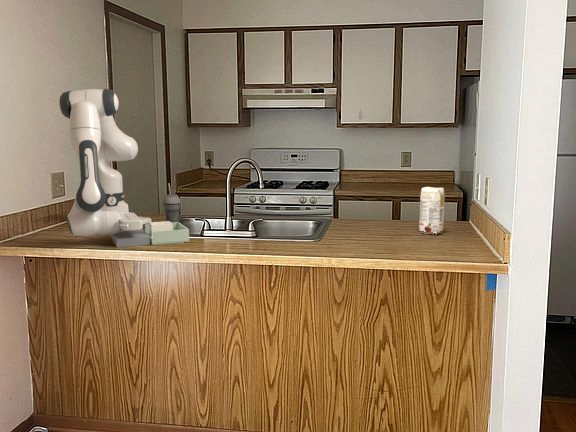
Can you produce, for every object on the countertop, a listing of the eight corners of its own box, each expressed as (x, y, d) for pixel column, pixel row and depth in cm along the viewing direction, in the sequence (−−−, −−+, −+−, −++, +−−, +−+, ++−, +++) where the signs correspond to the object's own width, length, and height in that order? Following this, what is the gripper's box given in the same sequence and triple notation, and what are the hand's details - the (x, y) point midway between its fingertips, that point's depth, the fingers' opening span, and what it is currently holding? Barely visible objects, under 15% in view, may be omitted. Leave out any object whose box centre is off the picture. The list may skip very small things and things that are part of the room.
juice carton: (437, 236, 236) (439, 189, 233) (417, 233, 241) (418, 187, 238) (444, 233, 242) (446, 187, 239) (424, 231, 247) (426, 186, 244)
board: (111, 239, 229) (111, 231, 229) (143, 237, 234) (142, 229, 233) (117, 247, 215) (116, 239, 214) (150, 244, 219) (149, 236, 219)
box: (143, 236, 235) (143, 224, 234) (178, 234, 240) (178, 221, 240) (152, 245, 219) (151, 231, 218) (189, 242, 224) (188, 229, 223)
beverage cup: (177, 232, 244) (176, 184, 241) (161, 231, 246) (159, 183, 242) (184, 229, 251) (183, 182, 248) (168, 228, 253) (166, 182, 249)
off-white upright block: (148, 222, 229) (169, 221, 232) (149, 237, 230) (169, 236, 233) (151, 224, 223) (172, 223, 226) (152, 240, 224) (172, 238, 227)
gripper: (116, 218, 211) (155, 215, 216) (109, 210, 229) (145, 208, 235) (117, 235, 212) (156, 232, 217) (110, 226, 230) (146, 223, 236)
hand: (150, 219), depth 226 cm, fingers closed
